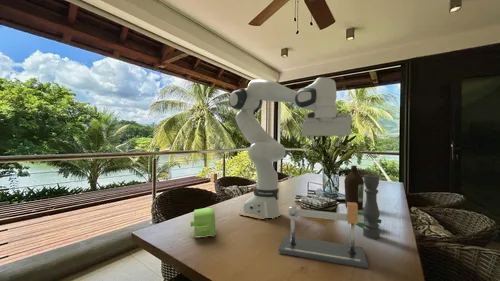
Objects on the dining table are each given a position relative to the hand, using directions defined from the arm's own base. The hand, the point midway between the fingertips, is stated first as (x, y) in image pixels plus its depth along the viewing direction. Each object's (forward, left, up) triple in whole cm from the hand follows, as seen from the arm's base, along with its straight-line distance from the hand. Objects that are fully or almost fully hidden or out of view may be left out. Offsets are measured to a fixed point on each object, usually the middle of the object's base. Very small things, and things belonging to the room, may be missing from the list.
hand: (325, 146), depth 99 cm
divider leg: (+9, -20, -35) cm, 41 cm away
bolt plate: (-1, -20, -37) cm, 42 cm away
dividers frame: (0, -18, -36) cm, 40 cm away
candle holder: (+18, +2, -37) cm, 41 cm away
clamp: (+18, +14, -38) cm, 44 cm away
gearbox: (-50, -19, -37) cm, 65 cm away
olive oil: (+15, +45, -37) cm, 60 cm away
